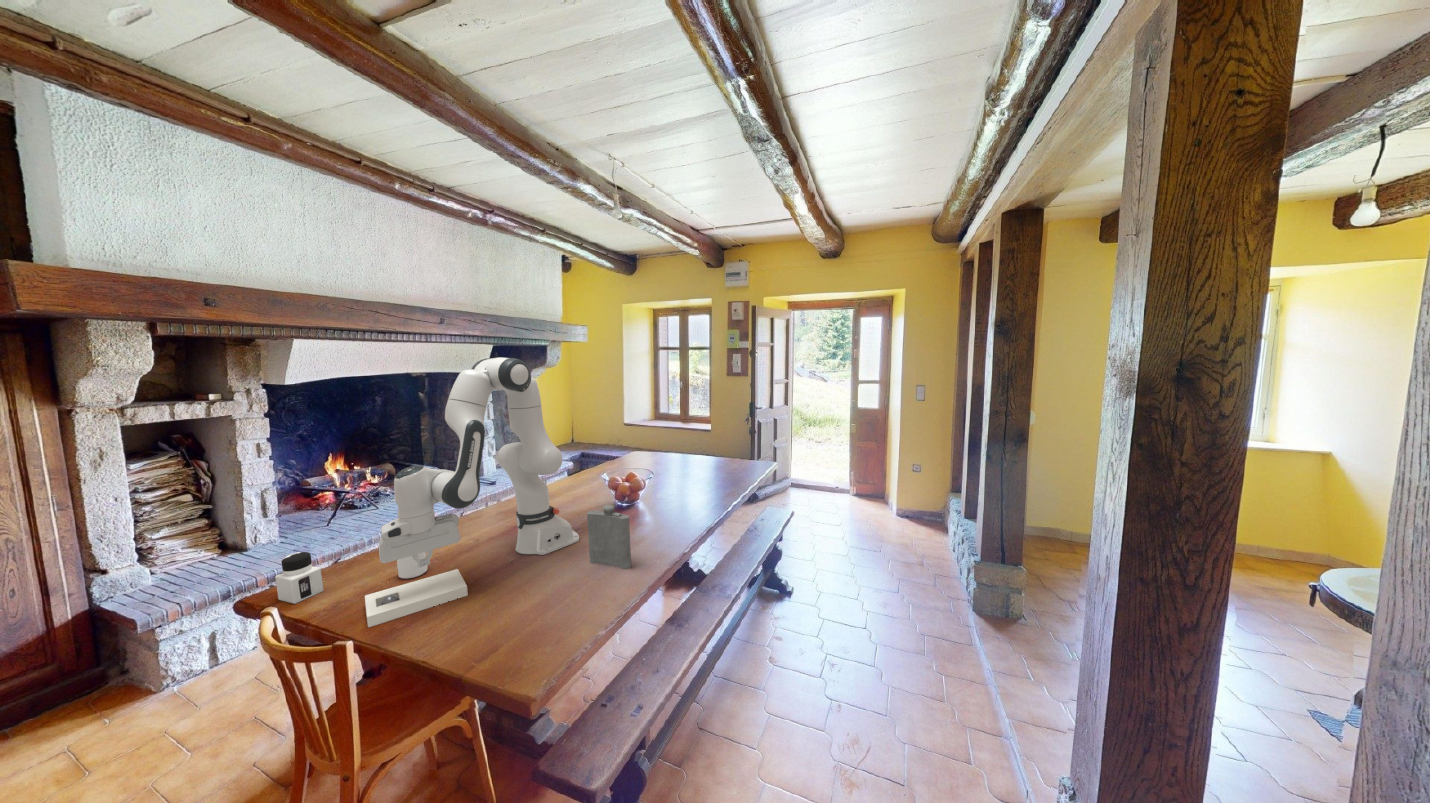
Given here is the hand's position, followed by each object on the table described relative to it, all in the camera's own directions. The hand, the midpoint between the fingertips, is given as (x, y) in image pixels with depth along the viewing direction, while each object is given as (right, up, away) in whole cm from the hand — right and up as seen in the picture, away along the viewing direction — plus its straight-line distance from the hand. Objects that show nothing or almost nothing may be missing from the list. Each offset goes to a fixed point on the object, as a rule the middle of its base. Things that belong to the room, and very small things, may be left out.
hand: (424, 565), depth 136 cm
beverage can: (-13, -9, +15) cm, 22 cm away
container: (-39, -11, +3) cm, 41 cm away
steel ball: (-7, -9, -5) cm, 12 cm away
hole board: (-2, -10, -1) cm, 10 cm away
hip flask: (+51, -7, +20) cm, 55 cm away
